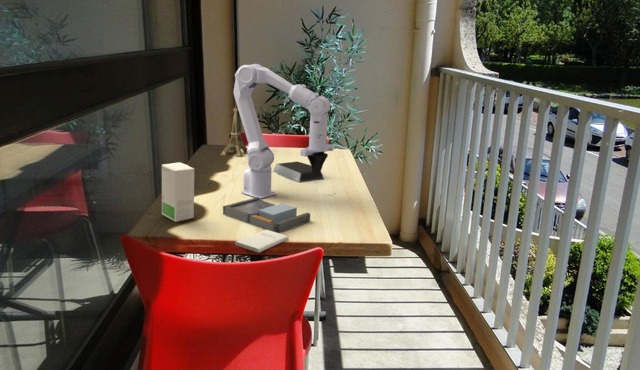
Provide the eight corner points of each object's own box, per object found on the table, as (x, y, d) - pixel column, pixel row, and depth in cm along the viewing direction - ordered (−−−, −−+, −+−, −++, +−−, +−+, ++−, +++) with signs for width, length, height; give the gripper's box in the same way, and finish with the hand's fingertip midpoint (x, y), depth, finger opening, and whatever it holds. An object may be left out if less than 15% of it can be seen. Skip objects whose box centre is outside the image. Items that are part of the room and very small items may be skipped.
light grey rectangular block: (258, 222, 159) (258, 209, 158) (282, 215, 166) (282, 203, 165) (272, 227, 155) (273, 214, 154) (296, 220, 163) (296, 207, 161)
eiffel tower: (240, 157, 239) (241, 101, 233) (219, 154, 242) (219, 99, 236) (251, 153, 249) (251, 99, 243) (230, 150, 252) (230, 97, 246)
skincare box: (161, 215, 160) (159, 164, 156) (181, 210, 165) (179, 161, 161) (176, 222, 155) (174, 170, 151) (195, 218, 159) (195, 167, 155)
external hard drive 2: (297, 184, 203) (297, 173, 202) (271, 172, 218) (271, 162, 217) (325, 180, 210) (325, 169, 209) (298, 169, 225) (298, 159, 224)
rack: (223, 214, 164) (223, 205, 163) (257, 204, 175) (257, 196, 174) (276, 233, 150) (276, 223, 149) (309, 221, 161) (310, 212, 160)
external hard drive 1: (234, 246, 141) (265, 234, 151) (258, 254, 136) (288, 241, 146) (234, 241, 140) (265, 228, 150) (258, 248, 136) (288, 235, 146)
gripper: (313, 138, 167) (311, 180, 170) (341, 133, 177) (339, 173, 181) (296, 135, 171) (294, 176, 174) (324, 130, 182) (323, 169, 185)
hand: (316, 174), depth 178 cm, fingers closed
